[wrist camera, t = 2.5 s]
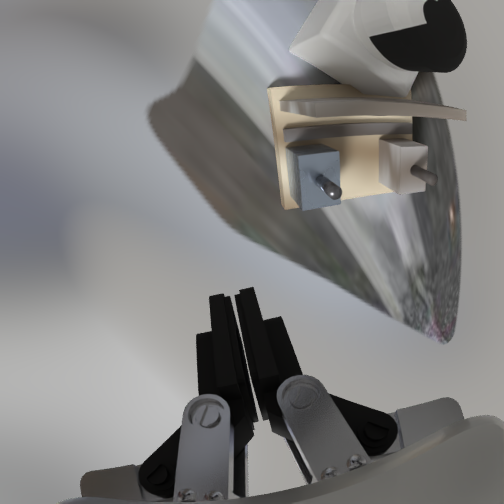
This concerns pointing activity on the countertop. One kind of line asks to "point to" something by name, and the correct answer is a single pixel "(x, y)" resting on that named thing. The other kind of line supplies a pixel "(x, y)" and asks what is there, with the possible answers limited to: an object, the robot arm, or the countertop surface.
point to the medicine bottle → (381, 42)
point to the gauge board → (355, 136)
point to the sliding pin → (314, 176)
